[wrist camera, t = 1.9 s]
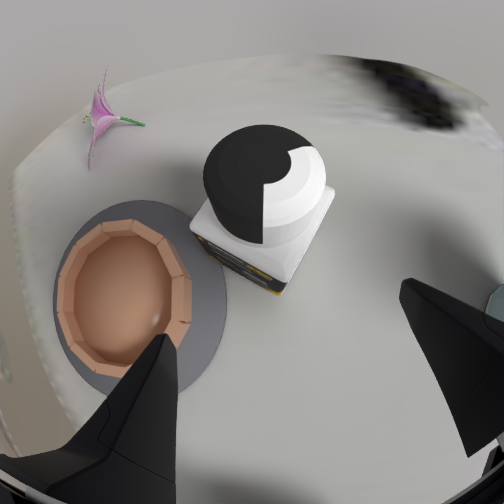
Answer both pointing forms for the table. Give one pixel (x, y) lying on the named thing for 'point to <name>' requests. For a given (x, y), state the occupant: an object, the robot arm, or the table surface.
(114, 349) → the terracotta bowl
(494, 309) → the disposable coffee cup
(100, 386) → the rubber mat
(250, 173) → the medicine bottle
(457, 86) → the table surface
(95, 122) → the lily
